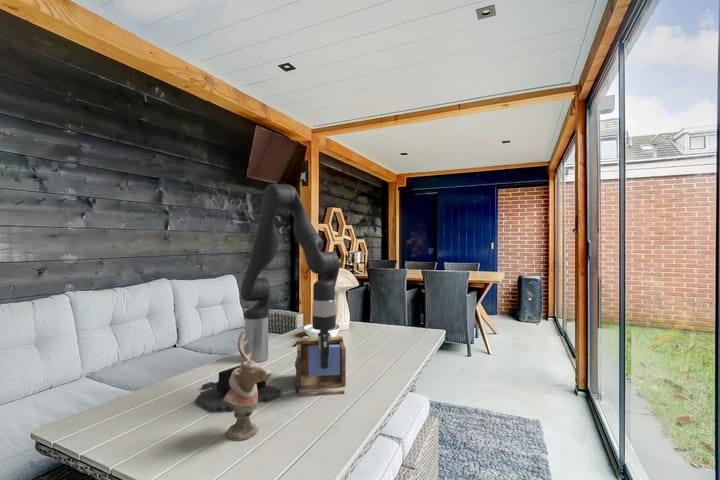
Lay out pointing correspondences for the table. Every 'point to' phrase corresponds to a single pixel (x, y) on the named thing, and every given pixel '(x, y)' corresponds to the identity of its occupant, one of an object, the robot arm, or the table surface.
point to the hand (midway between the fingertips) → (324, 366)
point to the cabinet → (318, 381)
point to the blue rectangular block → (316, 361)
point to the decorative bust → (244, 393)
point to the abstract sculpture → (218, 391)
